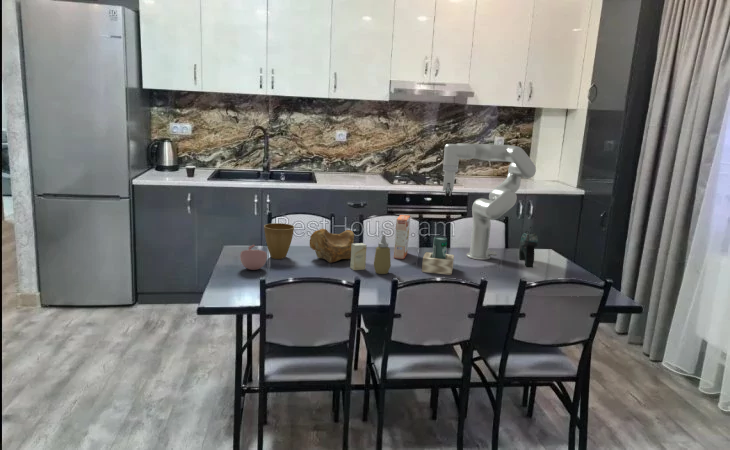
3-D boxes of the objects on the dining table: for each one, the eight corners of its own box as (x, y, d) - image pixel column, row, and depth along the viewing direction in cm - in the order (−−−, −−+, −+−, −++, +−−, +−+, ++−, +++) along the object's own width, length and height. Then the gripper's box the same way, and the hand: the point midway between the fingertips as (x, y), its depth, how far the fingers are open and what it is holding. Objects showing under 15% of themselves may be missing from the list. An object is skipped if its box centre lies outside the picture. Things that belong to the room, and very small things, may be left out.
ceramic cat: (535, 268, 277) (540, 230, 273) (523, 268, 277) (527, 229, 273) (526, 258, 296) (530, 222, 292) (514, 257, 297) (518, 221, 292)
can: (445, 270, 264) (448, 239, 260) (433, 269, 263) (435, 239, 260) (442, 266, 269) (445, 236, 266) (430, 266, 269) (432, 236, 266)
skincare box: (353, 270, 258) (355, 245, 256) (349, 268, 262) (350, 243, 260) (365, 269, 261) (367, 244, 259) (361, 266, 265) (362, 242, 262)
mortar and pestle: (266, 265, 259) (267, 242, 257) (266, 273, 248) (267, 248, 245) (240, 265, 257) (240, 242, 255) (239, 273, 246) (239, 248, 243)
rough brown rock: (314, 267, 264) (317, 237, 260) (306, 255, 279) (309, 227, 275) (360, 266, 272) (363, 237, 268) (349, 254, 287) (352, 227, 283)
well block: (452, 268, 270) (454, 254, 269) (451, 274, 259) (452, 261, 258) (424, 265, 273) (425, 252, 272) (421, 271, 262) (422, 258, 260)
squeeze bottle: (384, 276, 252) (387, 238, 248) (369, 272, 256) (371, 235, 252) (393, 272, 259) (395, 235, 255) (378, 269, 263) (380, 232, 259)
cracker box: (404, 259, 282) (407, 219, 277) (393, 258, 283) (395, 218, 279) (408, 253, 295) (410, 215, 291) (397, 252, 296) (399, 214, 292)
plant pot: (270, 262, 265) (270, 230, 261) (259, 254, 277) (259, 223, 274) (298, 259, 272) (299, 228, 269) (286, 252, 285) (287, 222, 281)
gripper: (444, 166, 286) (441, 199, 289) (441, 169, 269) (438, 204, 273) (458, 167, 284) (456, 200, 288) (457, 170, 268) (454, 205, 271)
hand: (447, 202), depth 280 cm, fingers open, 9 cm apart
